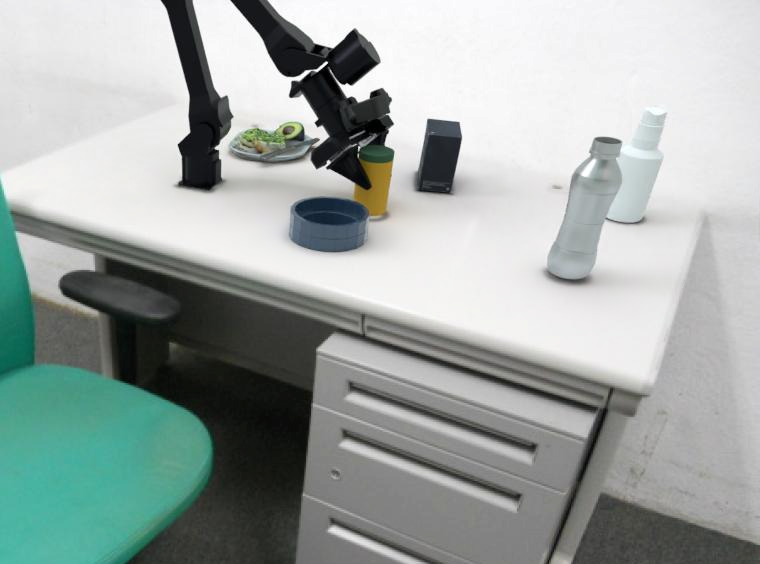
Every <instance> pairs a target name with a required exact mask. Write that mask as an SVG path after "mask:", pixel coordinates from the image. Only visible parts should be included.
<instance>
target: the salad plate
mask: <svg viewBox="0 0 760 564" xmlns="http://www.w3.org/2000/svg"><path fill="white" fill-rule="evenodd" d="M305 133H306V132H305V127H304V124H303V123H301V122H299V121H288V122H284V123H282V124H281V125H279V127H278V128H276V129H275V130H272V129H271V130H270V129H265V128H259V127H254V128H249V129H243V130H242V131H239V132H237V134H236V135H235V136H234V138H232V140H230V141H229V143H228V145H227V147H228V148H229V150H230V151H231V152H232V153H234V154H235V155H236V156H238V157H240V158H241V159H244V160H248V161H254V162H255V161H256V162H263V163H277V162H287V161H291V160H296V159H300V157H303V156H304V155H305V154H306V153H307V152H308V150H309V149H310V148H311V147H312V146H314V145H315V144H317V143H318V142H320V141H321V138H320V137H314V138H312V137H311V136H309V135H308V134H305Z"/></svg>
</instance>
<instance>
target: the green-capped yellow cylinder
mask: <svg viewBox="0 0 760 564" xmlns="http://www.w3.org/2000/svg"><path fill="white" fill-rule="evenodd" d="M358 151H359V154H358V159H359V161H360V163H361V164H362V166H363V168H364V170H365V172H366V174H367V176H368V178H369V180H370V183H371V185H372V188H371V189H369V190H365V189H363V188H362V187H360V186H358V185H357V184H355V183H354V190H353V199H352V201H356V202H358V203H360V204H362V205H364V206H365V207H366V208H367V209H368V210H369V214H370V217H377V216H382V215H385V213H386V212H387V206H388V199H389V193H390V185H391V179H392V176H391V174H392V172H393V167H394V166H393V165H394V159H395V154H396V153H395V150H394V149H393V148H391V147H389V146H386V145H385V146H380V145H367V146H363V147H359V148H358Z"/></svg>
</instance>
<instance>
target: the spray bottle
mask: <svg viewBox="0 0 760 564" xmlns="http://www.w3.org/2000/svg"><path fill="white" fill-rule="evenodd" d="M668 113H669V111H668V109H665V108H662V107H657V106H646V107H644V110H643V112H642V115H641V118H640V120H638V122H637V126H636V129H635V133H634V134H633V137H632V140H631V143H629V144H627V145H624V146H623V147H621V150H620V152H621V153H620V156H619V157H617V158H616V161H617V163H618V165H619V167H620V170H621V173H622V184H621V186H620V189H619V190H618V193H617V195H616V197H615V199H614V201H613V203H612V205H611V207H610V209H609V211H608V214H607V217H606V218H605V219H609V220H611V221H614V222H619V223H638V222H640V221H641V220H642V219H643V217H644V215H645V212H646V209H647V206H648V204H649V201H650V197H651V194H652V192H653V189H654V186H655V184H656V181H657V177H658V174H659V172H660V169H661V166H662V163H663V161H664V156H665V155H664V153H663V152H662V151H661V150H660V148H658V147H659V144H660V141H661V137H662V135H663V131H664V128H665V120H666V119H667V115H668Z"/></svg>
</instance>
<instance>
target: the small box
mask: <svg viewBox="0 0 760 564" xmlns="http://www.w3.org/2000/svg"><path fill="white" fill-rule="evenodd" d="M462 142H463V134H462V128H461V122H460V121H454V120H444V119H438V118H437V119H436V118H427V119H426V125H425V132H424V137H423V143H422V148H421V154H420V160H419V164H418V168H417V181H416V182H417V191H426V192H427V191H428V192H437V193H448V194H451V192H452V189H453V184H454V181H455V175H456V172H457V171H456V170H457V165H458V161H459V156H460V151H461V147H462Z"/></svg>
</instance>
